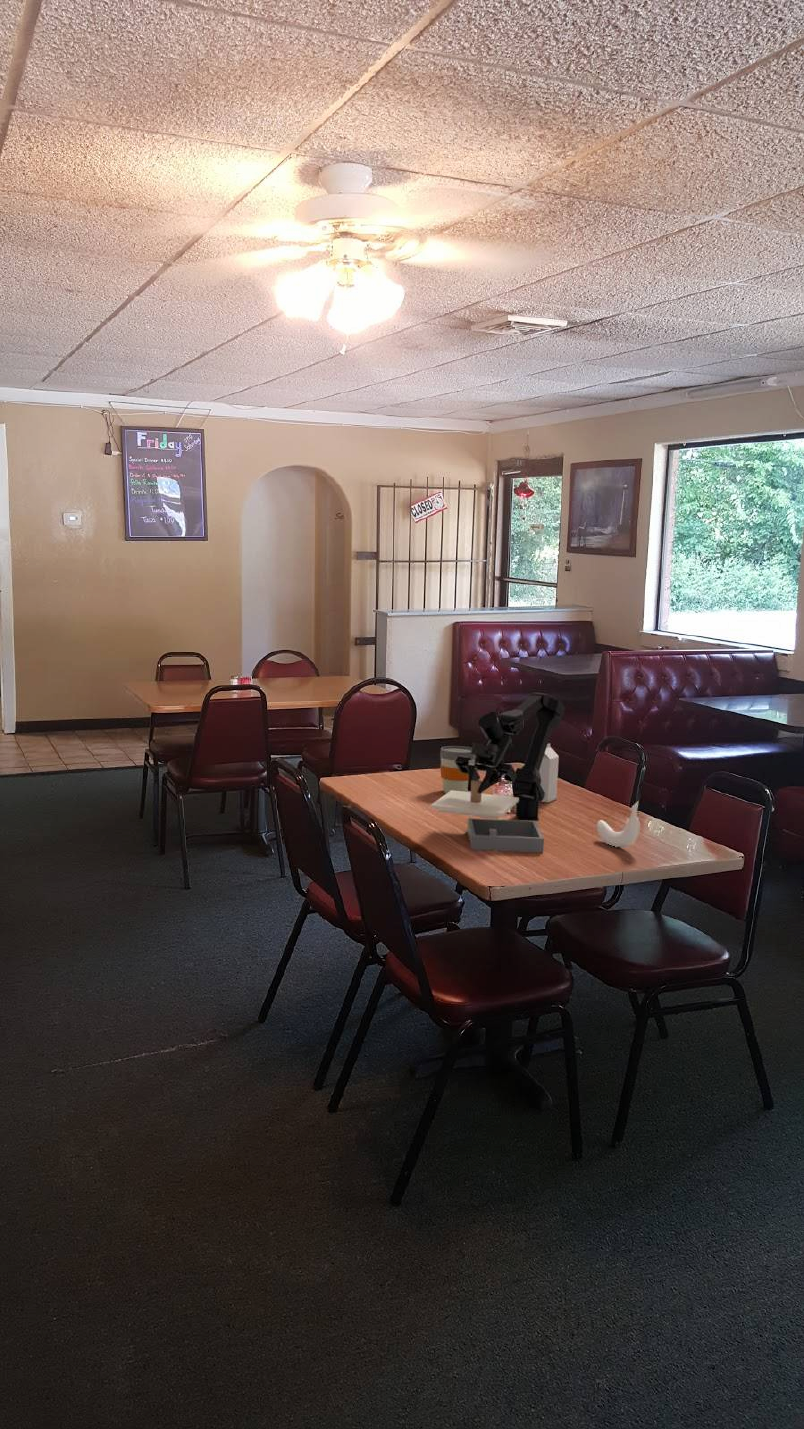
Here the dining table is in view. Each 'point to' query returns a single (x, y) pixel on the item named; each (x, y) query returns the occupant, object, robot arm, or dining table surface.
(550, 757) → the milk carton
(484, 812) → the tub lid
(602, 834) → the white shrimp
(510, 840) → the tray
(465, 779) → the reusable coffee cup
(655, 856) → the dining table surface
